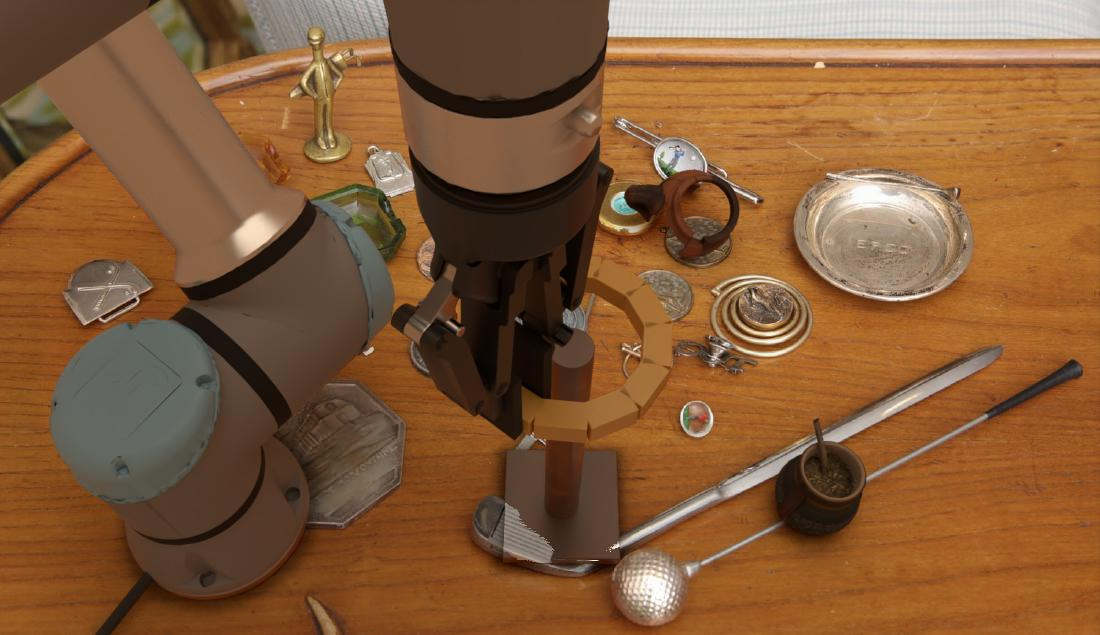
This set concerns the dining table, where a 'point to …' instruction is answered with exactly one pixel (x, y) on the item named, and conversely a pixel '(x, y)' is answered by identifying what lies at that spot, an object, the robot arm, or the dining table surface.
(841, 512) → the mate gourd
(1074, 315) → the dining table surface
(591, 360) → the holder
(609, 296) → the ring
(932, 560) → the dining table surface
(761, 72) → the dining table surface
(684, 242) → the brown knobbed loop
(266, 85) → the dining table surface
